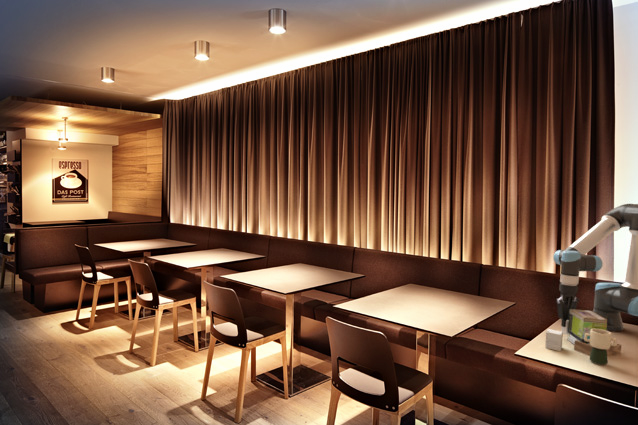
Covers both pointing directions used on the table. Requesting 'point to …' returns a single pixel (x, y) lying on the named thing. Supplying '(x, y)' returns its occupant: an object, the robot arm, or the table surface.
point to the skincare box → (554, 339)
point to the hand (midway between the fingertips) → (564, 333)
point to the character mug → (599, 345)
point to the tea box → (583, 324)
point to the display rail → (587, 348)
